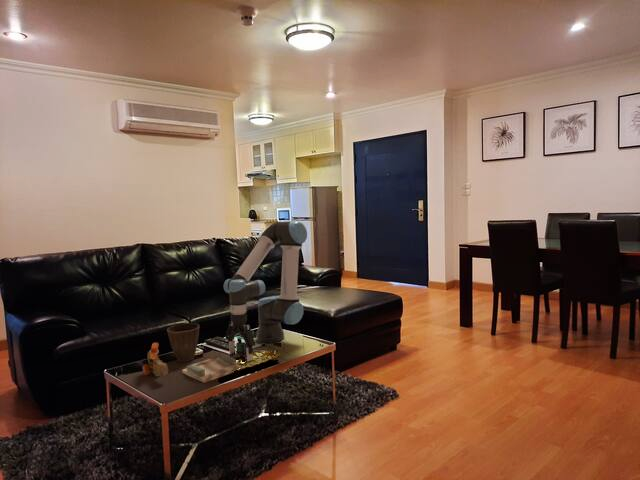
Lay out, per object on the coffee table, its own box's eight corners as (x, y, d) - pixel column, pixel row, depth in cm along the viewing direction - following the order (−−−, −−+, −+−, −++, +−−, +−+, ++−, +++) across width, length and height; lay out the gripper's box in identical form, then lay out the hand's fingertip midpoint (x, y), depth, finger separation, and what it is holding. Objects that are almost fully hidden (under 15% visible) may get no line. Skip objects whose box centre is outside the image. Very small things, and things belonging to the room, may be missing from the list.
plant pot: (176, 367, 204) (174, 333, 203) (164, 359, 216) (162, 327, 215) (206, 359, 214) (204, 327, 213) (193, 352, 225) (191, 321, 224)
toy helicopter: (159, 368, 204) (157, 339, 203) (177, 381, 188) (174, 349, 187) (141, 373, 199) (139, 343, 198) (157, 386, 183) (155, 354, 182)
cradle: (218, 360, 211) (218, 352, 211) (241, 369, 199) (240, 360, 198) (182, 372, 197) (181, 364, 197) (204, 382, 185) (203, 373, 185)
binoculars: (225, 344, 205) (239, 336, 214) (228, 365, 207) (241, 356, 215) (239, 346, 201) (253, 338, 209) (242, 368, 202) (256, 359, 211)
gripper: (216, 311, 213) (219, 354, 214) (248, 318, 195) (250, 365, 197) (229, 308, 218) (232, 350, 219) (261, 315, 201) (263, 360, 202)
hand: (240, 357), depth 208 cm, fingers open, 13 cm apart
